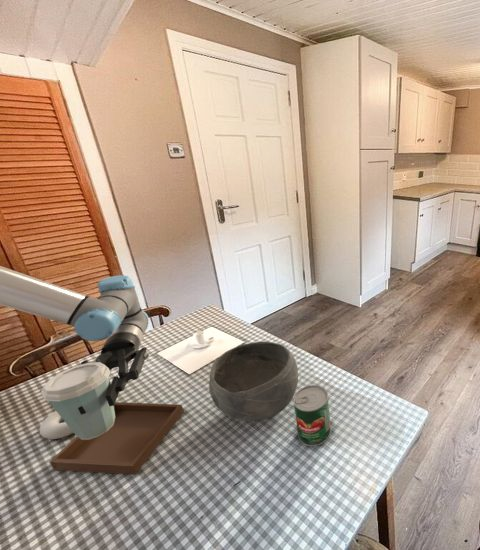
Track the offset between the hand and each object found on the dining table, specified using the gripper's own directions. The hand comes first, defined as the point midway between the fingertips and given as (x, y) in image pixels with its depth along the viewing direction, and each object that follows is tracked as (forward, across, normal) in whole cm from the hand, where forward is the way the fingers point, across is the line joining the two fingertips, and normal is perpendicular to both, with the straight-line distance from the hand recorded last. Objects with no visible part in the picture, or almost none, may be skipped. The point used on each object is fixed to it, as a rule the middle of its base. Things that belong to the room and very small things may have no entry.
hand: (95, 404), depth 62 cm
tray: (-5, 0, -15) cm, 16 cm away
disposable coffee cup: (-4, +3, -10) cm, 11 cm away
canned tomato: (+13, -41, -16) cm, 46 cm away
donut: (-16, +13, -16) cm, 26 cm away
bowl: (-1, -31, -16) cm, 34 cm away
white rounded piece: (-38, -16, -16) cm, 44 cm away
